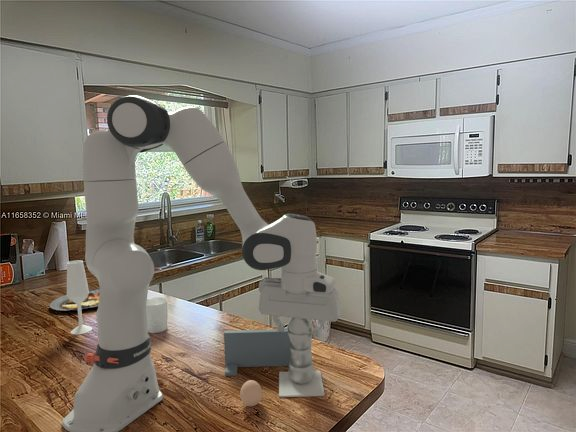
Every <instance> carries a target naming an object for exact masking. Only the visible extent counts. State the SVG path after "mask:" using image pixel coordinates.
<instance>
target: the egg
mask: <svg viewBox="0 0 576 432" xmlns="http://www.w3.org/2000/svg"><path fill="white" fill-rule="evenodd" d="M262 389H263V388H262V387H261V385H260V384H259V382H257V380H253V379H252V380H251V379H249V380H247V381H246V382H244V383H243V384H242V386H241V388H240V391H239V396H240V401H241V402H242V403H243V405H245V406H247V407H255V406H256V405H258V404H259V403H260V402H261V400H262V397H263V391H262Z"/></svg>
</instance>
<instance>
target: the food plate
mask: <svg viewBox="0 0 576 432" xmlns="http://www.w3.org/2000/svg"><path fill="white" fill-rule="evenodd" d="M99 295H100V288H96V289H89V294H88V296H87V298H86V299H85V300H84V301H83V302H81V309H82V310H83V309H85V310H87V309H88V308H91V309H92V308H97V307H98V305H99ZM49 308H51V310H52V309H53V310H56V311H78V308H77V303H74V302H73V301H71V300H70V299H69V298H68V297H67V294H65V295H63V296H62V295H61V296H60V297H57V298H56V299H54V300H52V301H51V303H50V304H49Z"/></svg>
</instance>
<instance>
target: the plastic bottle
mask: <svg viewBox="0 0 576 432" xmlns="http://www.w3.org/2000/svg"><path fill="white" fill-rule="evenodd" d="M289 318H290V319H289V320H288V322H287V325H286V329H287V330H288V335H289V341H290V363H289V366H288V371H287V372H289V376H290V378H291V380H292V381H293V382H295V383H298V384H305V383H308V382H310V381H311V380H312V379H313V377H314V371H315V365H314V363H313V354H312V343H313V342H312V340H313V339H312V338H313V333H314V324H313V321H312V319H303V318H294V317H289Z"/></svg>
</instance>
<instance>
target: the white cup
mask: <svg viewBox="0 0 576 432" xmlns="http://www.w3.org/2000/svg"><path fill="white" fill-rule="evenodd" d="M146 313H147V328H148V334H150V333H151V334H157V333H162V332H165V331H166V330H168V313H169V311H168V299H167V298H166V297H163V296H161V297H160V296H158V297H150V298H147V303H146Z"/></svg>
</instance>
